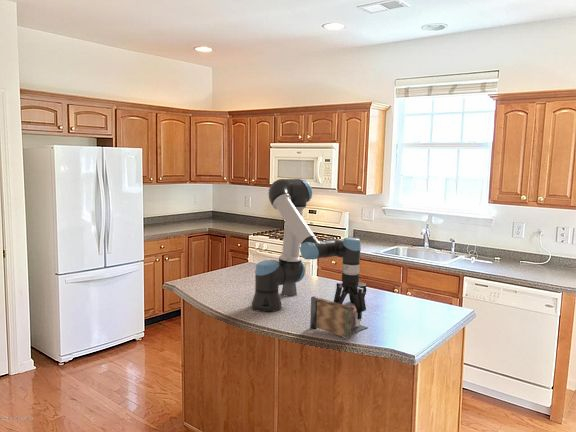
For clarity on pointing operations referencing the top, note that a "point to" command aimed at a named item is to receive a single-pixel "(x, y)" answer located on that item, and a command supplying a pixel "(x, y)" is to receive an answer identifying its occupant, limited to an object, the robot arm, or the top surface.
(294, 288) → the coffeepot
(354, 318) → the food item
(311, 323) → the gate post
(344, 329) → the gate
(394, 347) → the top surface
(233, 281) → the top surface
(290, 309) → the top surface
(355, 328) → the mat
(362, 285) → the mug
